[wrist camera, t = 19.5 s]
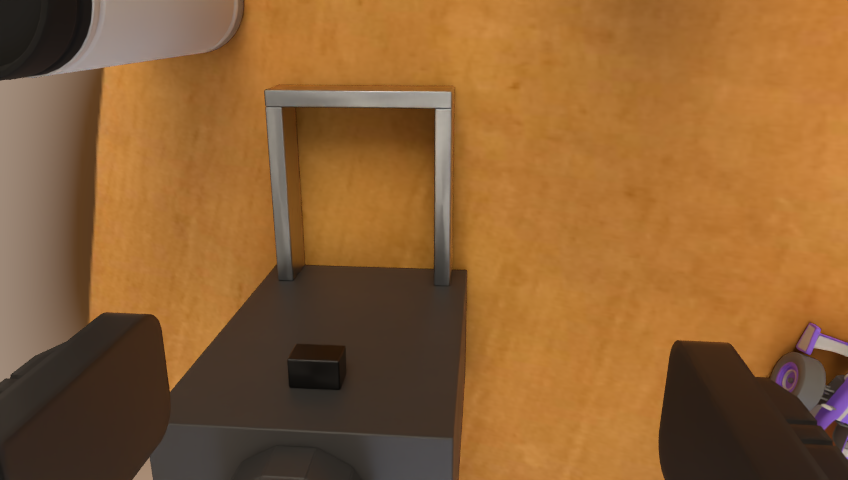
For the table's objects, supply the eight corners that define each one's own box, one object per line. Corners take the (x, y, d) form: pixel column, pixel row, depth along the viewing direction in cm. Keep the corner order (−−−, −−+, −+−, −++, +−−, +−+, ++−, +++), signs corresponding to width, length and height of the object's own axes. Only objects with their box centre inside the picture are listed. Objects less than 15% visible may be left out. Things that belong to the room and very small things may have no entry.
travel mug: (144, 50, 43) (-130, 82, 24) (145, -64, 40) (-156, -129, 22) (242, 65, 42) (43, 109, 23) (247, -49, 40) (34, -101, 21)
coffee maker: (276, 263, 46) (119, 451, 27) (467, 269, 45) (450, 470, 26) (284, 367, 49) (145, 610, 29) (465, 375, 48) (448, 633, 28)
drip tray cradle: (278, 84, 43) (165, 124, 28) (454, 85, 42) (435, 127, 27) (290, 264, 46) (197, 384, 31) (452, 269, 45) (434, 395, 31)
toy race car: (924, 361, 45) (993, 417, 38) (807, 532, 49) (853, 606, 43) (788, 313, 44) (836, 361, 38) (685, 489, 49) (713, 558, 43)
